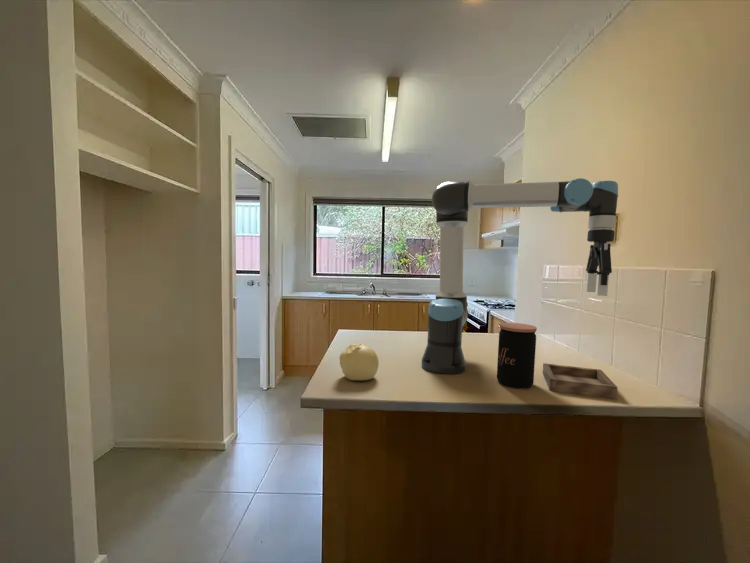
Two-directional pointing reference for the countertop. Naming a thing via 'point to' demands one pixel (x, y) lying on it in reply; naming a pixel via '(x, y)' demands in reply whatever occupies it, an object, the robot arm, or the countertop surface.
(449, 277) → the robot arm
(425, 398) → the countertop surface
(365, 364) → the sculpture
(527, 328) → the coffee jar
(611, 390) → the wooden tray
